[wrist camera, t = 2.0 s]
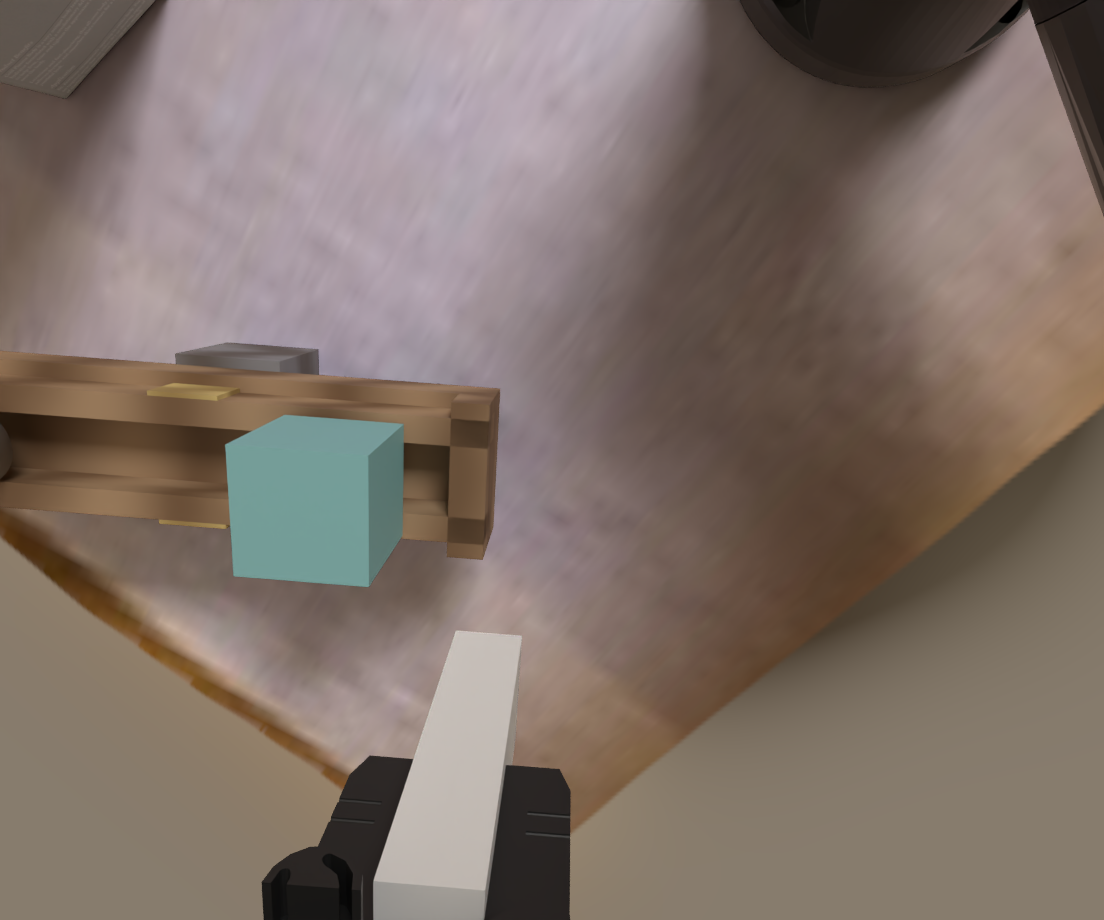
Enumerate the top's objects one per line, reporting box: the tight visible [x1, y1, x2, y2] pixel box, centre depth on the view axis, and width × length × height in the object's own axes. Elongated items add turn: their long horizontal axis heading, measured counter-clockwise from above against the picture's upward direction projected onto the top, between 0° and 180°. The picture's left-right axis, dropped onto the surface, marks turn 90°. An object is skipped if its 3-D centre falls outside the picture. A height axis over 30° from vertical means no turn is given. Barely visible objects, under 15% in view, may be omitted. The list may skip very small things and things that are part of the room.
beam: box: [0, 343, 500, 560], centre depth 32 cm, size 26×8×13 cm, turn 86°
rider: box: [225, 415, 404, 587], centre depth 28 cm, size 5×5×7 cm
